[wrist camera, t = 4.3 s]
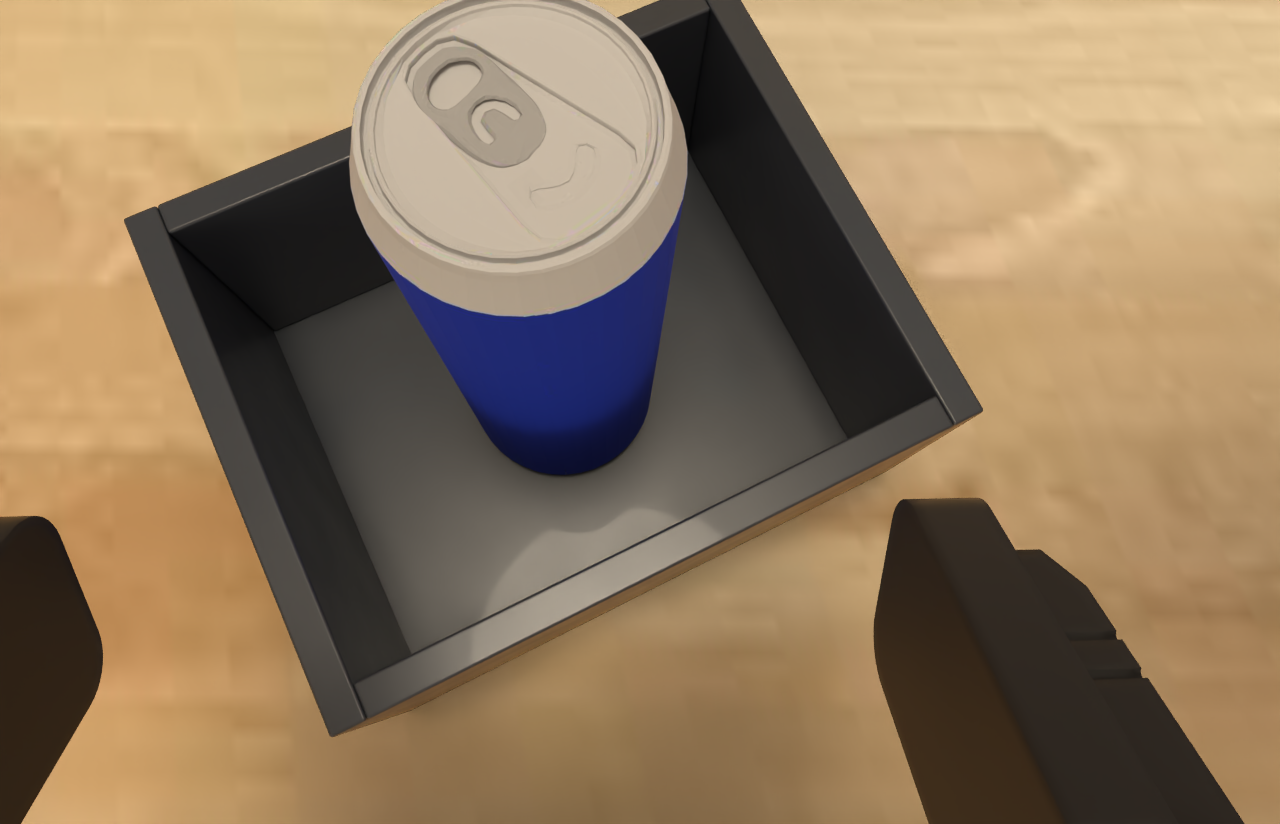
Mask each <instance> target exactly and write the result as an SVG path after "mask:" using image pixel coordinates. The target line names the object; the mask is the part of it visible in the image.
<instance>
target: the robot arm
mask: <svg viewBox="0 0 1280 824" xmlns="http://www.w3.org/2000/svg"><path fill="white" fill-rule="evenodd" d="M874 650H875V659H876V665H877V670H878V675H879V679H880V682H881V685H882V688H883V691H884V694H885V697H886V700H887V703H888V706H889V709H890V711H891V714H892V717H893V720H894V723H895V726H896V729H897V732H898V735H899V738H900V741H901V744H902V747H903V750H904V752H905V755H906V758H907V761H908V764H909V767H910V770H911V773H912V776H913V779H914V782H915V785H916V788H917V790H918V793H919V796H920V799H921V802H922V805H923V808H924V811H925V814H926V817H927V820H928V823H929V824H1244V822H1243V821H1242V819H1241V818H1240V816H1239V815H1238V813H1237V812H1236V810H1235V809H1234V807H1233V806H1232V804H1231V803H1230V801H1229V800H1228V798H1227V797H1226V795H1225V794H1224V792H1223V791H1222V789H1221V788H1220V786H1219V785H1218V783H1217V782H1216V780H1215V779H1214V777H1213V776H1212V774H1211V773H1210V771H1209V770H1208V768H1207V767H1206V765H1205V764H1204V762H1203V761H1202V759H1201V758H1200V756H1199V755H1198V753H1197V751H1196V750H1195V748H1194V747H1193V745H1192V744H1191V742H1190V741H1189V739H1188V738H1187V736H1186V735H1185V733H1184V732H1183V730H1182V729H1181V727H1180V726H1179V724H1178V723H1177V721H1176V720H1175V718H1174V717H1173V715H1172V714H1171V712H1170V711H1169V709H1168V708H1167V706H1166V705H1165V703H1164V702H1163V700H1162V699H1161V697H1160V696H1159V694H1158V693H1157V691H1156V690H1155V688H1154V687H1153V685H1152V684H1151V682H1150V681H1149V679H1148V678H1142V676H1141V667H1140V666H1139V664H1138V663H1137V661H1136V660H1135V658H1134V657H1133V655H1132V654H1131V652H1130V651H1129V649H1128V648H1127V646H1126V645H1125V643H1124V642H1123V640H1117V638H1116V630H1115V628H1114V627H1113V625H1112V624H1111V622H1110V621H1109V619H1108V618H1107V616H1106V615H1105V613H1104V612H1103V610H1102V609H1101V607H1100V606H1099V604H1098V603H1097V601H1096V600H1095V598H1094V597H1093V595H1092V594H1091V592H1090V591H1089V589H1088V588H1087V586H1086V585H1084V584H1083V583H1082V582H1081V581H1079V580H1078V579H1077V578H1076V577H1074V576H1073V575H1072V574H1070V573H1069V572H1068V571H1067V570H1065V569H1064V568H1063V567H1062V566H1060V565H1059V564H1058V563H1057V562H1055V561H1054V560H1053V559H1052V558H1050V557H1049V556H1048V555H1047V554H1045V553H1044V552H1043V551H1041V550H1015V549H1014V547H1013V545H1012V544H1011V542H1010V540H1009V539H1008V537H1007V535H1006V534H1005V532H1004V530H1003V528H1002V527H1001V525H1000V523H999V522H998V520H997V518H996V517H995V515H994V513H993V512H992V510H991V508H990V507H989V506H988V504H987V503H986V502H985V501H984V500H982V499H980V498H946V499H903V500H901V501H900V502H899V503H898V504H897V506H896V508H895V511H894V514H893V518H892V523H891V529H890V534H889V540H888V545H887V551H886V556H885V562H884V568H883V573H882V579H881V584H880V590H879V595H878V601H877V606H876V612H875V619H874ZM102 665H103V650H102V642H101V637H100V634H99V631H98V629H97V626H96V624H95V621H94V619H93V616H92V614H91V611H90V609H89V606H88V604H87V602H86V599H85V597H84V594H83V592H82V589H81V587H80V584H79V582H78V579H77V577H76V574H75V572H74V569H73V567H72V564H71V562H70V559H69V557H68V555H67V552H66V550H65V547H64V545H63V542H62V540H61V537H60V535H59V533H58V531H57V529H56V528H55V527H54V525H53V524H52V523H51V522H50V521H48V520H47V519H45V518H43V517H39V516H18V517H0V824H21V823H22V821H23V819H24V817H25V816H26V814H27V812H28V811H29V809H30V807H31V806H32V804H33V802H34V800H35V799H36V797H37V795H38V794H39V792H40V790H41V789H42V787H43V785H44V783H45V782H46V780H47V778H48V777H49V775H50V773H51V772H52V770H53V768H54V766H55V765H56V763H57V761H58V760H59V758H60V756H61V754H62V753H63V751H64V749H65V748H66V746H67V744H68V743H69V741H70V739H71V737H72V736H73V734H74V732H75V731H76V729H77V727H78V726H79V724H80V722H81V720H82V719H83V717H84V715H85V714H86V712H87V710H88V709H89V707H90V705H91V703H92V701H93V699H94V697H95V695H96V692H97V690H98V686H99V683H100V678H101V673H102Z"/></svg>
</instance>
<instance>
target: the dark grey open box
mask: <svg viewBox="0 0 1280 824" xmlns="http://www.w3.org/2000/svg"><path fill="white" fill-rule="evenodd" d="M617 18H618V19H619V20H621V21H622V22H623V23H624V24H625V25H626V26H627V27H628V28H629V29H631V30H632V31H633V32H634V33H635V34H636V35H637V36H638V37H639V39H640V40H641V41H642V42H643V44H644V45H645V46H646V48H647V49H648V50H649V51H650V53H651V54H652V56H653V58H654V60H655V62H656V63H657V65H658V67H659V69H660V71H661V73H662V75H663V77H664V80H665V83H666V85H667V88H668V90H669V92H670V94H671V96H672V98H673V100H674V102H675V104H676V107H677V110H678V113H679V116H680V119H681V121H682V124H683V127H684V133H685V139H686V145H687V151H688V155H687V180H686V186H685V192H684V199H683V205H682V211H681V217H680V223H679V229H678V235H677V241H676V247H675V253H674V259H673V265H672V271H671V277H670V283H669V289H668V295H667V301H666V307H665V313H664V319H663V325H662V331H661V337H660V343H659V349H658V355H657V361H656V367H655V373H654V379H653V385H652V391H651V397H650V403H649V408H648V412H647V415H646V417H645V420H644V423H643V425H642V427H641V428H640V430H639V432H638V434H637V435H636V437H635V438H634V439H633V440H632V442H631V443H630V444H629V446H628V447H627V448H625V449H624V450H623V451H622V452H621V453H620V454H619V455H618V456H616V457H615V458H613V459H612V460H610V461H609V462H607V463H606V464H603V465H601V466H599V467H597V468H595V469H592V470H589V471H585V472H582V473H576V474H568V475H558V474H547V473H542V472H537V471H534V470H532V469H529V468H526V467H524V466H522V465H520V464H518V463H516V462H514V461H513V460H511V459H510V458H509V457H507V456H506V455H505V454H503V453H502V452H501V451H500V450H499V449H498V448H497V447H496V446H495V445H494V444H493V442H492V441H491V440H490V438H489V437H488V435H487V434H486V432H485V431H484V429H483V427H482V426H481V424H480V422H479V421H478V419H477V417H476V416H475V414H474V412H473V411H472V409H471V407H470V406H469V404H468V402H467V401H466V399H465V397H464V396H463V394H462V392H461V391H460V389H459V387H458V386H457V384H456V382H455V381H454V379H453V377H452V376H451V374H450V372H449V371H448V369H447V367H446V366H445V364H444V362H443V361H442V359H441V357H440V356H439V354H438V352H437V351H436V349H435V347H434V346H433V344H432V342H431V341H430V339H429V337H428V336H427V334H426V332H425V330H424V329H423V327H422V325H421V324H420V322H419V320H418V319H417V317H416V315H415V314H414V312H413V310H412V309H411V307H410V305H409V304H408V302H407V300H406V299H405V297H404V295H403V294H402V292H401V290H400V289H399V287H398V285H397V284H396V282H395V280H394V279H393V277H392V275H391V274H390V272H389V270H388V269H387V267H386V265H385V264H384V262H383V260H382V259H381V257H380V255H379V254H378V252H377V250H376V249H375V247H374V245H373V244H372V242H371V240H370V238H369V237H368V235H367V233H366V231H365V229H364V226H363V224H362V222H361V220H360V217H359V215H358V213H357V210H356V206H355V202H354V198H353V194H352V190H351V183H350V168H349V159H350V148H351V130H352V126H351V127H348V128H346V129H343V130H341V131H338V132H336V133H334V134H331V135H329V136H326V137H324V138H321V139H319V140H316V141H314V142H312V143H309V144H307V145H304V146H302V147H299V148H297V149H294V150H292V151H290V152H287V153H285V154H282V155H280V156H277V157H275V158H272V159H270V160H267V161H265V162H263V163H260V164H258V165H255V166H253V167H250V168H248V169H245V170H243V171H241V172H238V173H236V174H233V175H231V176H228V177H226V178H223V179H221V180H219V181H216V182H214V183H211V184H209V185H206V186H204V187H201V188H199V189H197V190H194V191H192V192H189V193H187V194H184V195H182V196H179V197H177V198H175V199H172V200H170V201H167V202H165V203H162V204H160V205H159V206H158V208H159V209H158V208H157V207H152V208H149V209H147V210H145V211H142V212H140V213H137V214H135V215H132V216H130V217H127V218H125V219H124V222H125V225H126V227H127V230H128V232H129V235H130V237H131V240H132V242H133V245H134V247H135V250H136V252H137V255H138V257H139V260H140V262H141V265H142V267H143V270H144V272H145V275H146V277H147V280H148V282H149V285H150V287H151V290H152V292H153V295H154V297H155V300H156V302H157V305H158V307H159V310H160V312H161V315H162V317H163V320H164V322H165V325H166V327H167V330H168V332H169V335H170V337H171V340H172V342H173V345H174V347H175V350H176V352H177V355H178V357H179V360H180V362H181V365H182V367H183V370H184V372H185V375H186V377H187V380H188V382H189V385H190V387H191V390H192V392H193V395H194V397H195V400H196V402H197V405H198V407H199V410H200V412H201V415H202V417H203V420H204V422H205V425H206V427H207V430H208V432H209V435H210V437H211V440H212V442H213V445H214V447H215V450H216V452H217V455H218V457H219V460H220V462H221V465H222V467H223V470H224V472H225V475H226V477H227V480H228V482H229V485H230V487H231V490H232V492H233V495H234V497H235V500H236V502H237V505H238V507H239V510H240V512H241V515H242V517H243V520H244V522H245V525H246V528H247V530H248V533H249V535H250V538H251V540H252V543H253V545H254V548H255V550H256V553H257V555H258V558H259V560H260V563H261V565H262V568H263V570H264V573H265V575H266V578H267V580H268V583H269V585H270V588H271V590H272V593H273V595H274V598H275V600H276V603H277V605H278V608H279V610H280V613H281V615H282V618H283V620H284V623H285V625H286V628H287V630H288V633H289V635H290V638H291V640H292V643H293V645H294V648H295V650H296V653H297V655H298V658H299V660H300V663H301V665H302V668H303V670H304V673H305V675H306V678H307V680H308V683H309V685H310V688H311V690H312V693H313V695H314V698H315V700H316V703H317V705H318V708H319V710H320V713H321V715H322V718H323V720H324V723H325V725H326V728H327V730H328V733H329V735H330V736H331V737H335V736H338V735H341V734H344V733H347V732H350V731H353V730H356V729H358V728H361V727H364V726H367V725H370V724H373V723H376V722H379V721H382V720H385V719H388V718H390V717H393V716H396V715H399V714H402V713H405V712H408V711H411V710H413V709H415V708H417V707H419V706H421V705H423V704H425V703H427V702H429V701H431V700H433V699H434V698H436V697H438V696H440V695H442V694H444V693H446V692H448V691H450V690H452V689H454V688H456V687H458V686H460V685H462V684H464V683H466V682H468V681H470V680H472V679H474V678H476V677H478V676H480V675H482V674H484V673H486V672H488V671H490V670H492V669H494V668H496V667H498V666H500V665H502V664H504V663H506V662H508V661H510V660H512V659H514V658H516V657H518V656H520V655H522V654H524V653H526V652H528V651H530V650H532V649H534V648H536V647H538V646H540V645H542V644H544V643H546V642H548V641H550V640H552V639H554V638H556V637H558V636H560V635H562V634H564V633H566V632H568V631H570V630H572V629H574V628H576V627H578V626H580V625H582V624H584V623H586V622H588V621H590V620H592V619H594V618H596V617H598V616H600V615H602V614H604V613H606V612H608V611H609V610H611V609H613V608H615V607H617V606H619V605H621V604H623V603H625V602H627V601H629V600H631V599H633V598H635V597H637V596H639V595H641V594H643V593H645V592H647V591H649V590H651V589H653V588H655V587H657V586H659V585H661V584H663V583H665V582H667V581H669V580H671V579H673V578H675V577H677V576H679V575H681V574H683V573H685V572H687V571H689V570H691V569H693V568H695V567H697V566H699V565H701V564H703V563H705V562H707V561H709V560H711V559H713V558H715V557H717V556H719V555H721V554H723V553H725V552H727V551H729V550H731V549H733V548H735V547H737V546H739V545H741V544H743V543H745V542H747V541H749V540H751V539H753V538H755V537H757V536H759V535H761V534H763V533H765V532H767V531H769V530H771V529H773V528H775V527H777V526H779V525H781V524H783V523H785V522H786V521H788V520H790V519H792V518H794V517H796V516H798V515H800V514H802V513H804V512H806V511H808V510H810V509H812V508H814V507H816V506H818V505H820V504H822V503H824V502H826V501H828V500H830V499H832V498H834V497H836V496H838V495H840V494H842V493H844V492H846V491H848V490H850V489H852V488H854V487H856V486H858V485H860V484H862V483H864V482H866V481H868V480H870V479H872V478H874V477H876V476H878V475H880V474H882V473H884V472H886V471H888V470H889V469H891V468H892V467H894V466H896V465H897V464H899V463H901V462H902V461H904V460H905V459H907V458H909V457H910V456H912V455H913V454H915V453H917V452H918V451H920V450H922V449H923V448H925V447H926V446H928V445H930V444H931V443H933V442H935V441H936V440H938V439H939V438H941V437H943V436H944V435H946V434H948V433H949V432H951V431H952V430H954V429H956V428H957V427H959V426H960V425H962V424H964V423H965V422H967V421H969V420H970V419H972V418H973V417H975V416H977V415H978V414H980V413H981V412H982V411H983V408H982V406H981V405H980V403H979V401H978V400H977V398H976V396H975V395H974V393H973V391H972V390H971V388H970V386H969V385H968V383H967V381H966V379H965V378H964V376H963V374H962V373H961V371H960V369H959V368H958V366H957V364H956V363H955V361H954V359H953V358H952V356H951V354H950V352H949V351H948V349H947V347H946V346H945V344H944V342H943V341H942V339H941V337H940V336H939V334H938V332H937V331H936V329H935V327H934V325H933V324H932V322H931V320H930V319H929V317H928V315H927V314H926V312H925V310H924V309H923V307H922V305H921V304H920V302H919V300H918V298H917V297H916V295H915V293H914V292H913V290H912V288H911V287H910V285H909V283H908V282H907V280H906V278H905V277H904V275H903V273H902V271H901V270H900V268H899V266H898V265H897V263H896V261H895V260H894V258H893V256H892V255H891V253H890V251H889V250H888V248H887V246H886V244H885V243H884V241H883V239H882V238H881V236H880V234H879V233H878V231H877V229H876V228H875V226H874V224H873V223H872V221H871V219H870V218H869V216H868V214H867V212H866V211H865V209H864V207H863V206H862V204H861V202H860V201H859V199H858V197H857V196H856V194H855V192H854V191H853V189H852V187H851V185H850V184H849V182H848V180H847V179H846V177H845V175H844V174H843V172H842V170H841V169H840V167H839V165H838V164H837V162H836V160H835V158H834V157H833V155H832V153H831V152H830V150H829V148H828V147H827V145H826V143H825V142H824V140H823V138H822V137H821V135H820V133H819V131H818V130H817V128H816V126H815V125H814V123H813V121H812V120H811V118H810V116H809V115H808V113H807V111H806V110H805V108H804V106H803V104H802V103H801V101H800V99H799V98H798V96H797V94H796V93H795V91H794V89H793V88H792V86H791V84H790V83H789V81H788V79H787V77H786V76H785V74H784V72H783V71H782V69H781V67H780V66H779V64H778V62H777V61H776V59H775V57H774V56H773V54H772V52H771V50H770V49H769V47H768V45H767V44H766V42H765V40H764V39H763V37H762V35H761V34H760V32H759V30H758V29H757V27H756V25H755V24H754V22H753V20H752V18H751V17H750V15H749V13H748V12H747V10H746V8H745V7H744V5H743V3H742V2H741V0H659V1H656V2H654V3H652V4H649V5H647V6H644V7H642V8H639V9H637V10H634V11H632V12H629V13H627V14H625V15H622V16H620V17H617Z"/></svg>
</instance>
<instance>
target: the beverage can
mask: <svg viewBox="0 0 1280 824" xmlns="http://www.w3.org/2000/svg"><path fill="white" fill-rule="evenodd" d="M687 155H688V151H687V145H686V139H685V133H684V127H683V124H682V121H681V119H680V116H679V113H678V110H677V107H676V104H675V102H674V100H673V98H672V96H671V94H670V92H669V90H668V88H667V85H666V83H665V80H664V77H663V75H662V73H661V71H660V69H659V67H658V65H657V63H656V62H655V60H654V58H653V56H652V54H651V53H650V51H649V50H648V49H647V48H646V46H645V45H644V44H643V42H642V41H641V40H640V39H639V37H638V36H637V35H636V34H635V33H634V32H633V31H632V30H631V29H629V28H628V27H627V26H626V25H625V24H624V23H623V22H622V21H621V20H619V19H618V18H616V17H615V16H613V15H612V14H611V13H609V12H608V11H606V10H605V9H603V8H602V7H599V6H597V5H595V4H593V3H591V2H589V1H587V0H447V1H444V2H442V3H440V4H438V5H436V6H434V7H433V8H431V9H429V10H427V11H426V12H424V13H422V14H420V15H419V16H418V17H416V18H415V19H414V20H412V21H411V22H410V23H408V24H407V25H406V26H405V27H403V28H402V29H401V30H400V31H399V32H398V33H397V34H396V35H395V36H394V37H393V38H392V39H391V40H390V41H389V42H388V43H387V44H386V45H385V46H384V48H383V49H382V51H381V52H380V53H379V55H378V56H377V58H376V59H375V61H374V62H373V63H372V65H371V66H370V68H369V70H368V72H367V75H366V77H365V79H364V81H363V83H362V85H361V87H360V90H359V93H358V97H357V100H356V104H355V107H354V112H353V121H352V130H351V148H350V159H349V168H350V183H351V190H352V194H353V198H354V202H355V206H356V210H357V213H358V215H359V217H360V220H361V222H362V224H363V226H364V229H365V231H366V233H367V235H368V237H369V238H370V240H371V242H372V244H373V245H374V247H375V249H376V250H377V252H378V254H379V255H380V257H381V259H382V260H383V262H384V264H385V265H386V267H387V269H388V270H389V272H390V274H391V275H392V277H393V279H394V280H395V282H396V284H397V285H398V287H399V289H400V290H401V292H402V294H403V295H404V297H405V299H406V300H407V302H408V304H409V305H410V307H411V309H412V310H413V312H414V314H415V315H416V317H417V319H418V320H419V322H420V324H421V325H422V327H423V329H424V330H425V332H426V334H427V336H428V337H429V339H430V341H431V342H432V344H433V346H434V347H435V349H436V351H437V352H438V354H439V356H440V357H441V359H442V361H443V362H444V364H445V366H446V367H447V369H448V371H449V372H450V374H451V376H452V377H453V379H454V381H455V382H456V384H457V386H458V387H459V389H460V391H461V392H462V394H463V396H464V397H465V399H466V401H467V402H468V404H469V406H470V407H471V409H472V411H473V412H474V414H475V416H476V417H477V419H478V421H479V422H480V424H481V426H482V427H483V429H484V431H485V432H486V434H487V435H488V437H489V438H490V440H491V441H492V442H493V444H494V445H495V446H496V447H497V448H498V449H499V450H500V451H501V452H502V453H503V454H505V455H506V456H507V457H509V458H510V459H511V460H513V461H514V462H516V463H518V464H520V465H522V466H524V467H526V468H529V469H532V470H534V471H537V472H542V473H547V474H558V475H568V474H576V473H582V472H585V471H589V470H592V469H595V468H597V467H599V466H601V465H603V464H606V463H607V462H609V461H610V460H612V459H613V458H615V457H616V456H618V455H619V454H620V453H621V452H622V451H623V450H624V449H625V448H627V447H628V446H629V444H630V443H631V442H632V440H633V439H634V438H635V437H636V435H637V434H638V432H639V430H640V428H641V427H642V425H643V423H644V420H645V417H646V415H647V412H648V408H649V403H650V397H651V391H652V385H653V379H654V373H655V367H656V361H657V355H658V349H659V343H660V337H661V331H662V325H663V319H664V313H665V307H666V301H667V295H668V289H669V283H670V277H671V271H672V265H673V259H674V253H675V247H676V241H677V235H678V229H679V223H680V217H681V211H682V205H683V199H684V192H685V186H686V180H687Z"/></svg>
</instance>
